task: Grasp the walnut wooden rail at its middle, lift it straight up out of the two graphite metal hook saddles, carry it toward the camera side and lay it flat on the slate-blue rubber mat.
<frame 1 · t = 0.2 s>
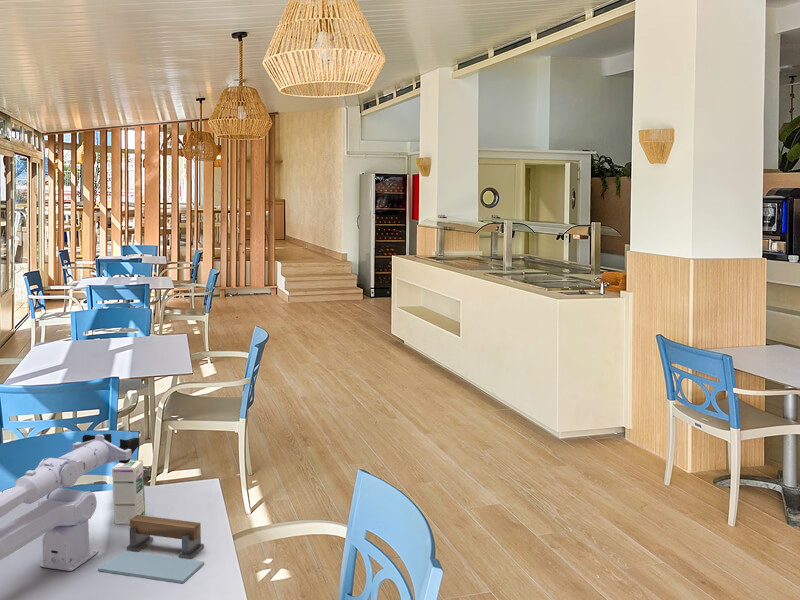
hand: (123, 439, 185), 21 cm above the table, tool horizontal, fingers open, 7 cm apart
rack: (165, 548, 175), on the table
syrup box: (129, 520, 190), on the table
rail: (165, 534, 174), point 3 cm above the table, touching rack
mat: (151, 567, 166), on the table
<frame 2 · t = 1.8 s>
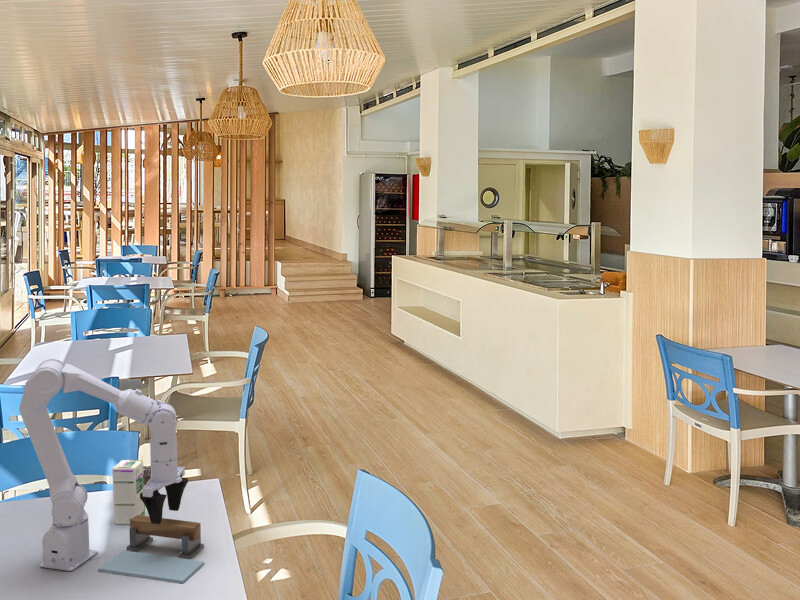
hand: (165, 516, 174), 8 cm above the table, tool pointing down, fingers open, 7 cm apart
nothing on the table moved.
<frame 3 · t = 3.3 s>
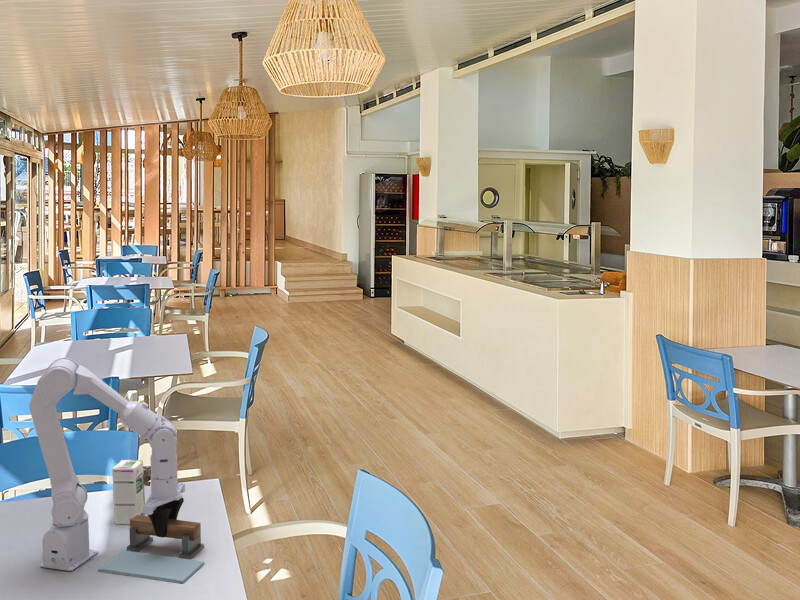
hand: (165, 533, 174), 4 cm above the table, tool pointing down, fingers closed on rail, 3 cm apart
rail: (165, 534, 174), point 3 cm above the table, touching gripper, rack
everything else where it was.
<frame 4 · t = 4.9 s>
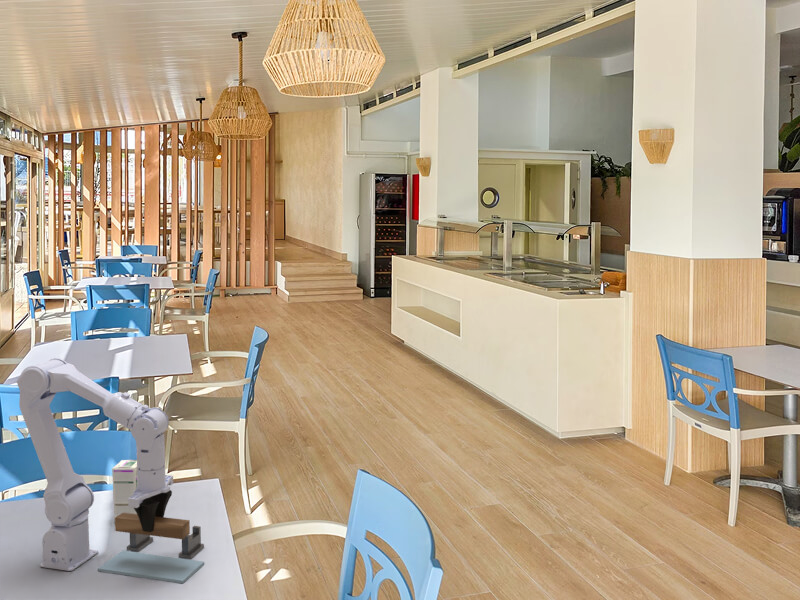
hand: (152, 527, 166), 9 cm above the table, tool pointing down, fingers closed on rail, 3 cm apart
rail: (152, 532, 166), point 8 cm above the table, touching gripper
everything else where it was.
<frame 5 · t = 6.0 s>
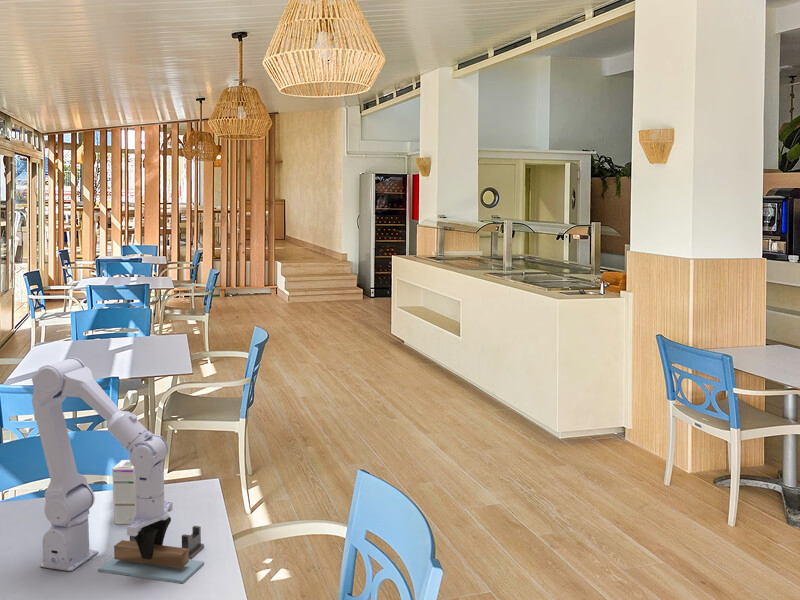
hand: (151, 554, 165), 3 cm above the table, tool pointing down, fingers closed on rail, 3 cm apart
rail: (151, 560, 166), point 2 cm above the table, touching gripper
everything else where it was.
when the fingers open (2 cm above the table, at t = 6.8 s): rail stays where it is, resting on mat.
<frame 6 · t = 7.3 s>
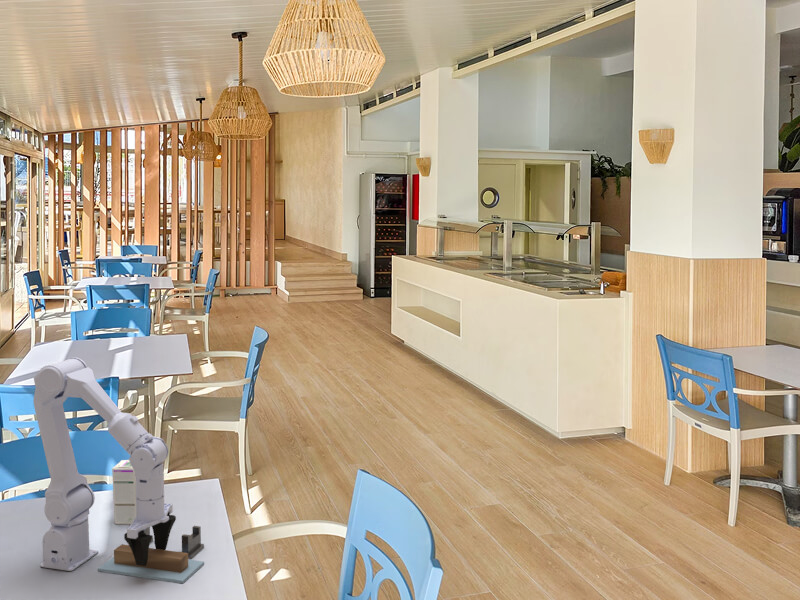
hand: (151, 556, 165), 2 cm above the table, tool pointing down, fingers open, 7 cm apart
rail: (151, 564, 166), point 1 cm above the table, touching mat
everything else where it was.
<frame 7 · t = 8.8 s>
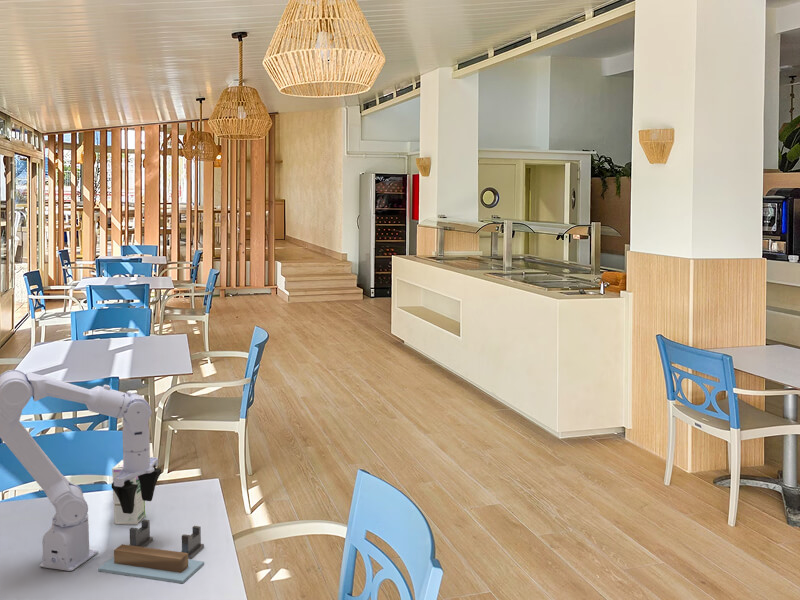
hand: (137, 506, 175), 9 cm above the table, tool pointing down, fingers open, 7 cm apart
nothing on the table moved.
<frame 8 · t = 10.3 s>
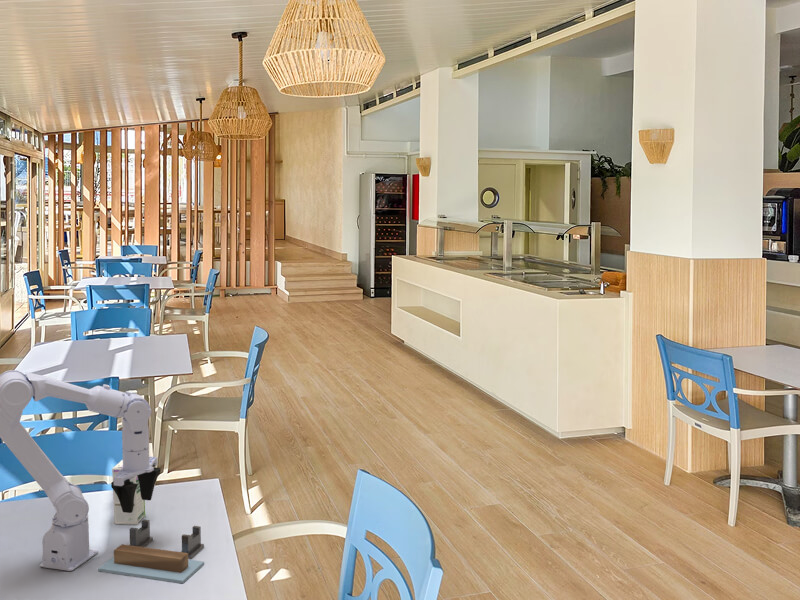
hand: (137, 505, 175), 9 cm above the table, tool pointing down, fingers open, 7 cm apart
nothing on the table moved.
at the end: rail 0.1 cm off-centre on the mat, point 0.6 cm above the mat's base; rail touching mat; rail tilted 0° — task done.
